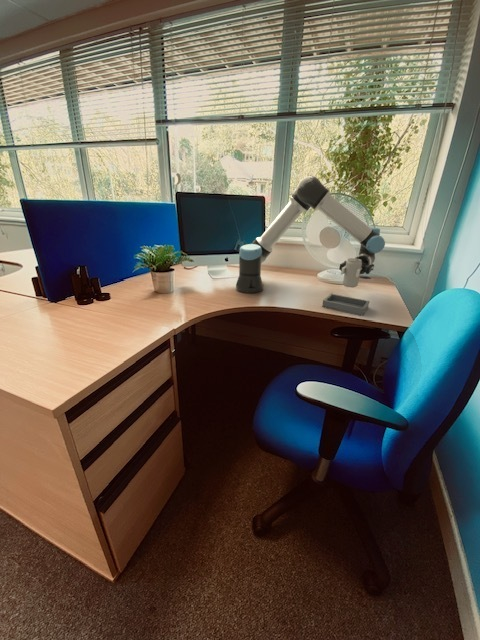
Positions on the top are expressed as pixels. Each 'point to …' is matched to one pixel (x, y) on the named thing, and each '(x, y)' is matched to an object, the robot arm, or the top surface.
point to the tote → (346, 304)
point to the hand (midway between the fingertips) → (349, 272)
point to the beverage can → (351, 272)
